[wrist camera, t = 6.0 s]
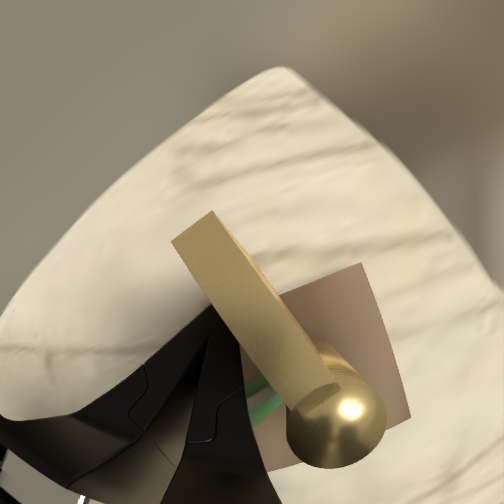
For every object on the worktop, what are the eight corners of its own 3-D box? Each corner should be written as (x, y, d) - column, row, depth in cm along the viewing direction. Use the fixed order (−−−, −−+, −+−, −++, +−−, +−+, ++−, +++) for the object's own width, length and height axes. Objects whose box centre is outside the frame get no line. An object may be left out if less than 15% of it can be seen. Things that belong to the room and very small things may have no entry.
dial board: (255, 462, 15) (252, 476, 13) (197, 325, 16) (188, 328, 14) (401, 408, 14) (411, 418, 13) (354, 265, 16) (361, 262, 14)
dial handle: (171, 399, 14) (88, 466, 6) (238, 250, 14) (190, 201, 7) (287, 452, 13) (286, 556, 5) (363, 305, 13) (442, 311, 6)
